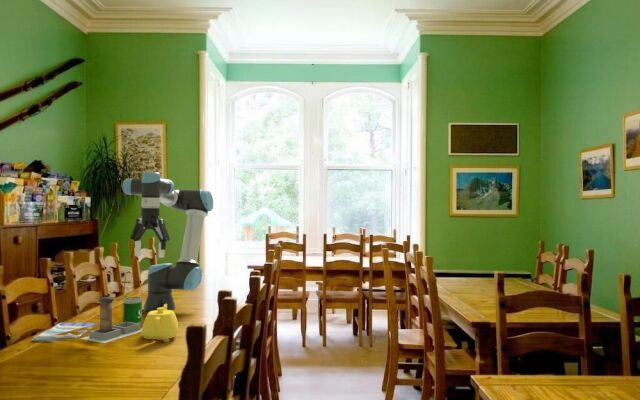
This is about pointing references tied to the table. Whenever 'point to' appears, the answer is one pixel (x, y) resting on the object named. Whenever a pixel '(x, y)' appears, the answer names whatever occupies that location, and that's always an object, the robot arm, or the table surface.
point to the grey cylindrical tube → (105, 314)
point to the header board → (114, 332)
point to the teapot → (160, 324)
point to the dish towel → (60, 328)
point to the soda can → (132, 310)
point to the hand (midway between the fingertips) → (149, 256)
